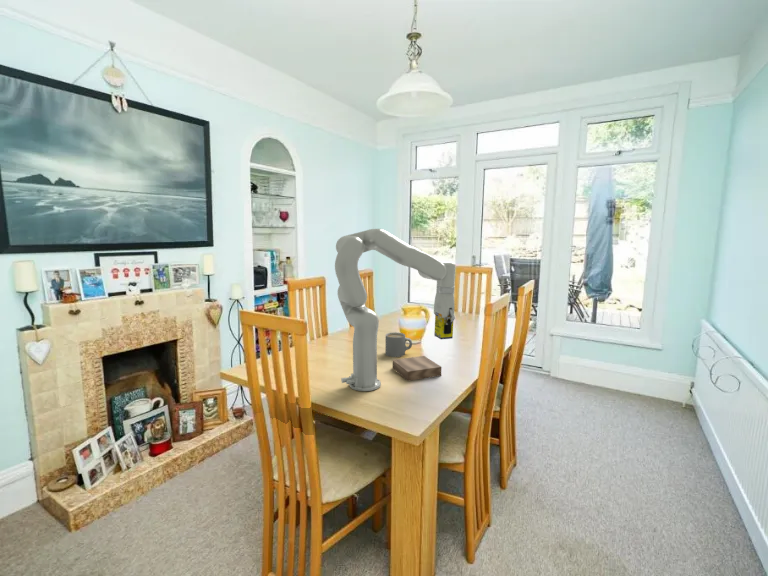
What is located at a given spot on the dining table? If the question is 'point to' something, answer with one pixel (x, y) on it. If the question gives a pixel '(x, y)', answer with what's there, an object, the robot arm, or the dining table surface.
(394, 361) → the walnut base
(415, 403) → the dining table surface
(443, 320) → the supplement box
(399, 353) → the coffee mug
